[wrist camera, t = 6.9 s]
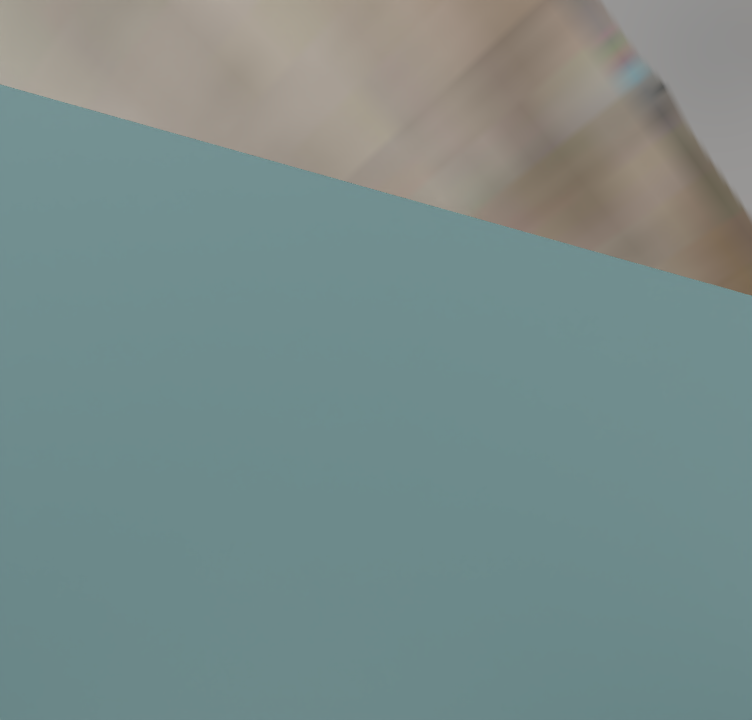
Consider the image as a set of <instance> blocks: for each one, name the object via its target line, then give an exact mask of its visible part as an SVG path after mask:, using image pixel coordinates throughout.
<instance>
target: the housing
mask: <svg viewBox="0 0 752 720" xmlns="http://www.w3.org/2000/svg"><path fill="white" fill-rule="evenodd" d="M0 720H752V296H751V295H747V294H743V293H740V292H736V291H733V290H729V289H726V288H722V287H719V286H715V285H711V284H708V283H704V282H701V281H697V280H694V279H690V278H687V277H683V276H679V275H676V274H672V273H669V272H665V271H662V270H658V269H655V268H651V267H647V266H644V265H640V264H637V263H633V262H630V261H626V260H623V259H619V258H615V257H612V256H608V255H605V254H601V253H598V252H594V251H591V250H587V249H583V248H580V247H576V246H573V245H569V244H566V243H562V242H558V241H555V240H551V239H548V238H544V237H541V236H537V235H534V234H530V233H526V232H523V231H519V230H516V229H512V228H509V227H505V226H502V225H498V224H494V223H491V222H487V221H484V220H480V219H477V218H473V217H470V216H466V215H462V214H459V213H455V212H452V211H448V210H445V209H441V208H438V207H434V206H430V205H427V204H423V203H420V202H416V201H413V200H409V199H406V198H402V197H398V196H395V195H391V194H388V193H384V192H381V191H377V190H374V189H370V188H366V187H363V186H359V185H356V184H352V183H349V182H345V181H342V180H338V179H334V178H331V177H327V176H324V175H320V174H317V173H313V172H309V171H306V170H302V169H299V168H295V167H292V166H288V165H285V164H281V163H277V162H274V161H270V160H267V159H263V158H260V157H256V156H253V155H249V154H245V153H242V152H238V151H235V150H231V149H228V148H224V147H221V146H217V145H213V144H210V143H206V142H203V141H199V140H196V139H192V138H189V137H185V136H181V135H178V134H174V133H171V132H167V131H164V130H160V129H157V128H153V127H149V126H146V125H142V124H139V123H135V122H132V121H128V120H125V119H121V118H117V117H114V116H110V115H107V114H103V113H100V112H96V111H93V110H89V109H85V108H82V107H78V106H75V105H71V104H68V103H64V102H61V101H57V100H53V99H50V98H46V97H43V96H39V95H36V94H32V93H28V92H25V91H21V90H18V89H14V88H11V87H7V86H4V85H0Z"/></svg>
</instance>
